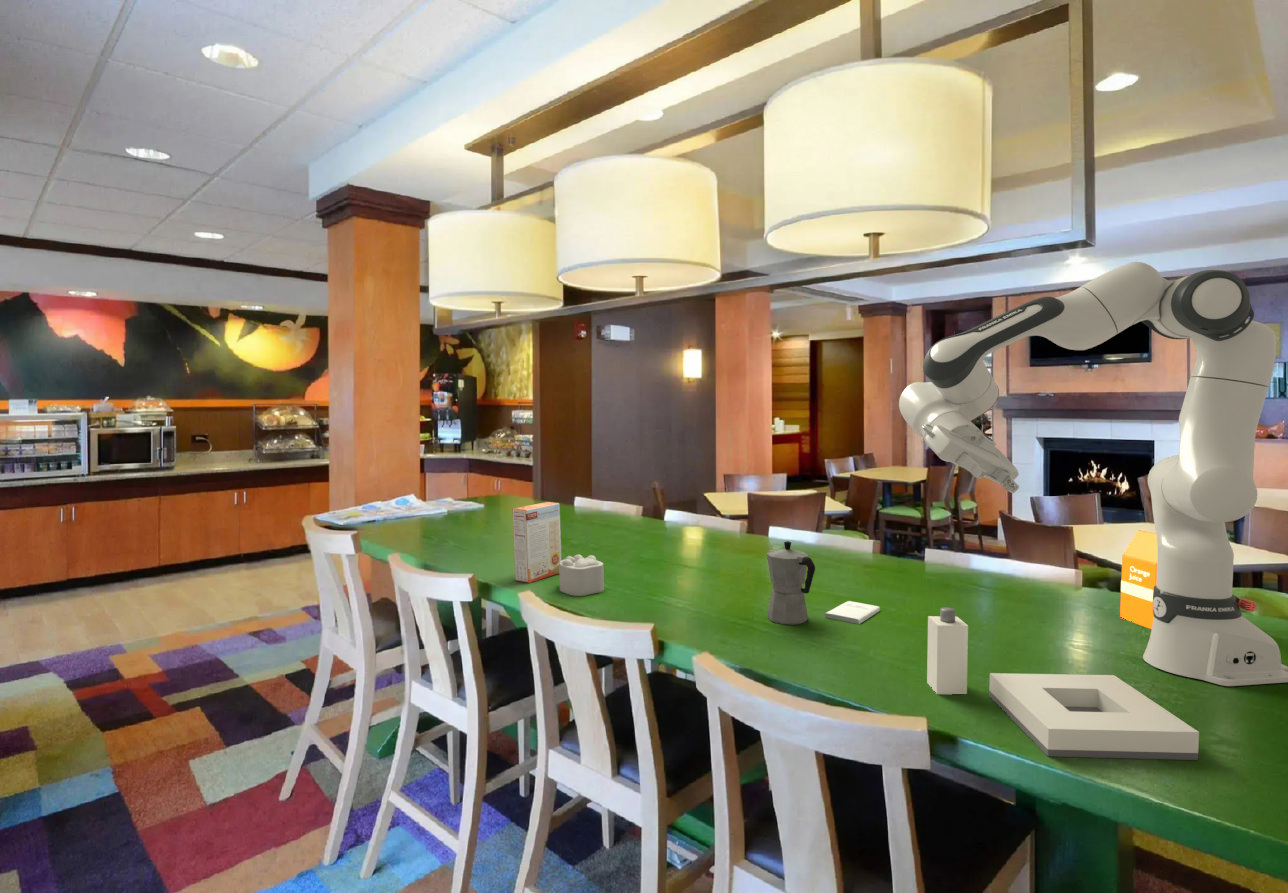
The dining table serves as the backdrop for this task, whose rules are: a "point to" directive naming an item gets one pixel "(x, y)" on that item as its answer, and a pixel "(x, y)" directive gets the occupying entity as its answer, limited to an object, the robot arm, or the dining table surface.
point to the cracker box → (536, 541)
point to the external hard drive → (852, 612)
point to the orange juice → (1139, 579)
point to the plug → (947, 653)
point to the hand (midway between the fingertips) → (998, 482)
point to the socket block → (1092, 717)
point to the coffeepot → (789, 585)
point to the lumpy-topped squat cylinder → (581, 575)
